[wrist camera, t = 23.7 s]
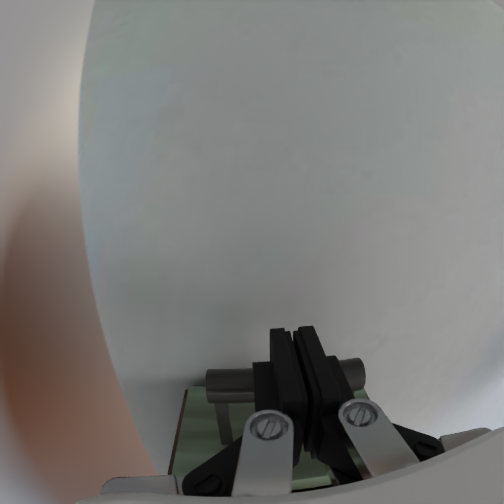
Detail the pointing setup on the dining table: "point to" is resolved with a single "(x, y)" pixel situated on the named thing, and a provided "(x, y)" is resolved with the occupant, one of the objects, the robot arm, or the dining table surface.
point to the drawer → (241, 421)
